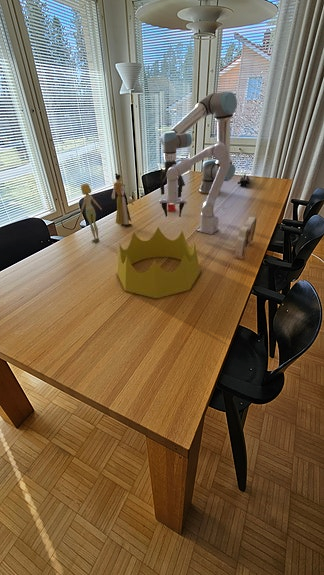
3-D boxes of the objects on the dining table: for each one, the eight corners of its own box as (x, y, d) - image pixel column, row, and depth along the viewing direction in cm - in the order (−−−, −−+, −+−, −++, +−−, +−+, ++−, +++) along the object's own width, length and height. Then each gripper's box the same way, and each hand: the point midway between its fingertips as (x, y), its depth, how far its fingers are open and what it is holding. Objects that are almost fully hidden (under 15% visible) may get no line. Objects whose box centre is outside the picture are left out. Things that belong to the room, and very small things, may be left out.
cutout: (244, 233, 111) (258, 210, 128) (237, 232, 113) (252, 210, 129) (240, 263, 121) (254, 238, 137) (234, 262, 122) (248, 237, 138)
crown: (123, 254, 130) (119, 225, 122) (197, 252, 128) (198, 223, 120) (109, 299, 101) (102, 265, 92) (204, 297, 99) (206, 262, 90)
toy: (240, 179, 245) (237, 186, 221) (241, 173, 242) (238, 180, 219) (251, 179, 242) (249, 186, 218) (251, 174, 240) (249, 180, 216)
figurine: (140, 227, 158) (135, 173, 141) (129, 231, 153) (122, 176, 136) (119, 219, 169) (112, 169, 152) (109, 224, 164) (100, 172, 147)
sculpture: (103, 236, 150) (93, 180, 132) (108, 238, 147) (98, 181, 130) (83, 243, 142) (70, 186, 125) (88, 246, 140) (75, 187, 122)
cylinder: (172, 212, 178) (172, 204, 175) (166, 211, 180) (166, 203, 177) (176, 209, 181) (176, 202, 178) (170, 208, 183) (169, 201, 181)
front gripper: (186, 189, 143) (186, 214, 151) (160, 189, 146) (161, 213, 153) (185, 193, 138) (185, 218, 145) (158, 193, 140) (159, 218, 148)
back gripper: (150, 160, 167) (152, 194, 179) (183, 163, 154) (183, 199, 166) (157, 158, 171) (159, 191, 184) (190, 161, 159) (190, 196, 171)
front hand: (173, 216), depth 149 cm, fingers open, 7 cm apart
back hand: (171, 195), depth 175 cm, fingers open, 13 cm apart
